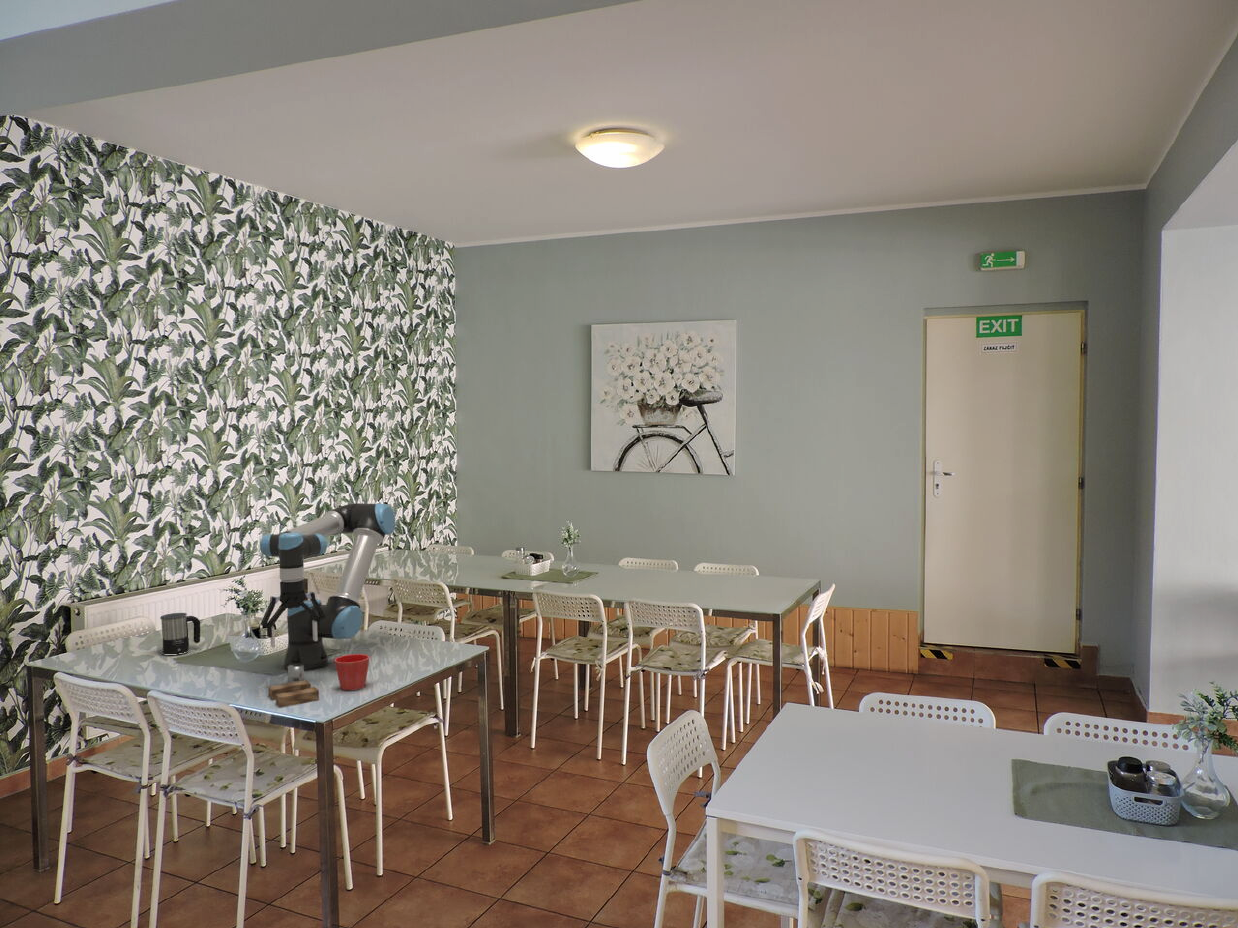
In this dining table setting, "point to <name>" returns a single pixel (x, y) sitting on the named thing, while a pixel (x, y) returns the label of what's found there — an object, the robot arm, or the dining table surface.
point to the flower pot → (352, 671)
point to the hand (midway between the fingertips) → (294, 643)
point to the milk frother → (178, 632)
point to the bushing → (295, 673)
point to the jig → (293, 693)
